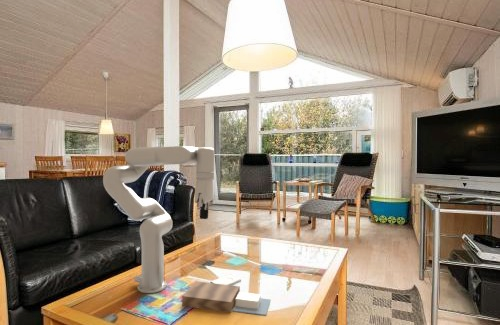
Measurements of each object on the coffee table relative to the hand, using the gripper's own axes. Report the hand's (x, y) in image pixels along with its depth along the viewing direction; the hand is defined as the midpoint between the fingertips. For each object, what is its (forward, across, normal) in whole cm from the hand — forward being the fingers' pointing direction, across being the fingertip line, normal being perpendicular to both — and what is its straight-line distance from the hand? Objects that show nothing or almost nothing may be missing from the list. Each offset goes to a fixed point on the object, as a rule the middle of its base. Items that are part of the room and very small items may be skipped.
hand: (203, 218), depth 128 cm
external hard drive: (+34, -14, +7) cm, 37 cm away
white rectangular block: (+31, +4, +22) cm, 38 cm away
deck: (+33, +5, +6) cm, 34 cm away
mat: (+33, +5, +23) cm, 40 cm away
